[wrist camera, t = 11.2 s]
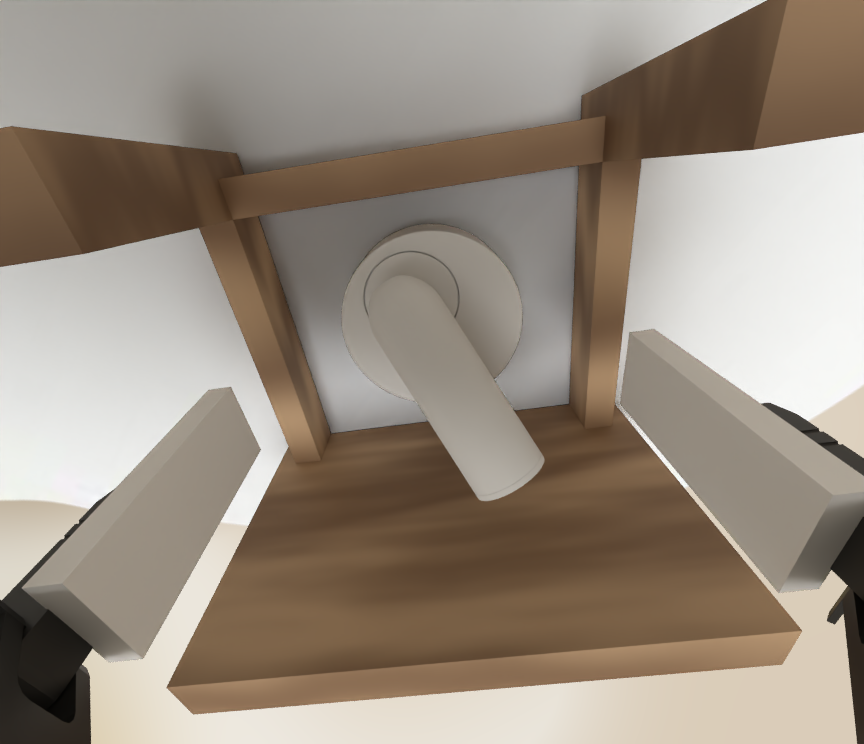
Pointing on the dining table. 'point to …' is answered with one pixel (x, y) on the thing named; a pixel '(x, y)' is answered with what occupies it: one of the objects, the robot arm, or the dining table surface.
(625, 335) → the dining table surface
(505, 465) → the wall hook
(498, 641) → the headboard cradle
